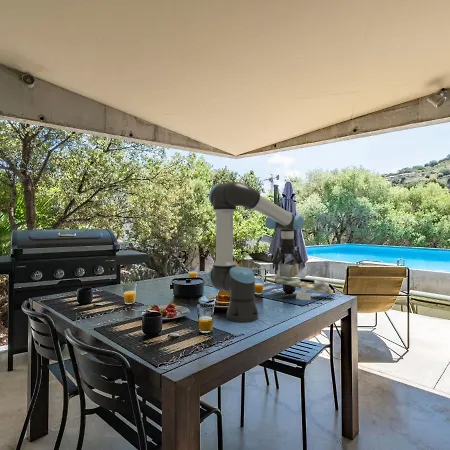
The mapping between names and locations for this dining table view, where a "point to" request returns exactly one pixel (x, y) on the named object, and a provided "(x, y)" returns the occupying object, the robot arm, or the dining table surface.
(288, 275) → the ceramic mug
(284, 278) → the balance beam
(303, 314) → the dining table surface
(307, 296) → the stand
